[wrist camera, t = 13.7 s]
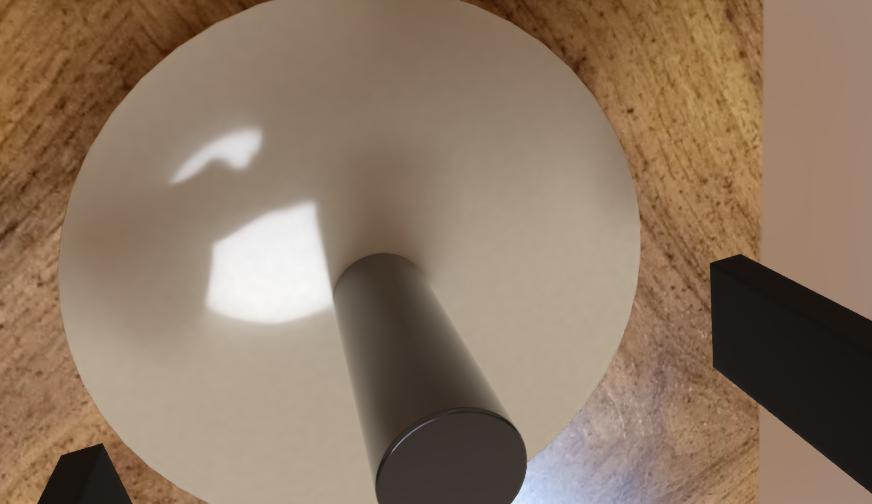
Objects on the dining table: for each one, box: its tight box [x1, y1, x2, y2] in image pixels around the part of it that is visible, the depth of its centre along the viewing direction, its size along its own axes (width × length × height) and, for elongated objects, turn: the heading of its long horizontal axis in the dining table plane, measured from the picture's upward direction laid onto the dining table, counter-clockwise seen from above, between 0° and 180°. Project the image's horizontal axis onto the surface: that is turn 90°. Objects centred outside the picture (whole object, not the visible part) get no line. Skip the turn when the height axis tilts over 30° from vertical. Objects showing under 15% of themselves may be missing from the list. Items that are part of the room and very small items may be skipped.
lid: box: [58, 0, 641, 504], centre depth 15 cm, size 17×17×9 cm
